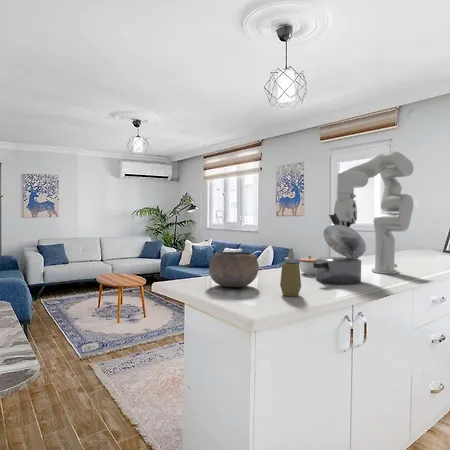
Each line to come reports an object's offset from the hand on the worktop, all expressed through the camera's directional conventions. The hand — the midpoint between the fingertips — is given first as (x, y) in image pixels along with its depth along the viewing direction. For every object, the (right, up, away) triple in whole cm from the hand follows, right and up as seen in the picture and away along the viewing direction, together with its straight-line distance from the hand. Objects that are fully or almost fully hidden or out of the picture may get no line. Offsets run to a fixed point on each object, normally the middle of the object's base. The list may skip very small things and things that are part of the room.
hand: (344, 236), depth 170 cm
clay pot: (-53, -21, -17) cm, 59 cm away
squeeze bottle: (-31, -22, -32) cm, 50 cm away
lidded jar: (-12, -20, +18) cm, 30 cm away
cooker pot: (-6, -21, -4) cm, 22 cm away
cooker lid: (-2, -1, -1) cm, 2 cm away
